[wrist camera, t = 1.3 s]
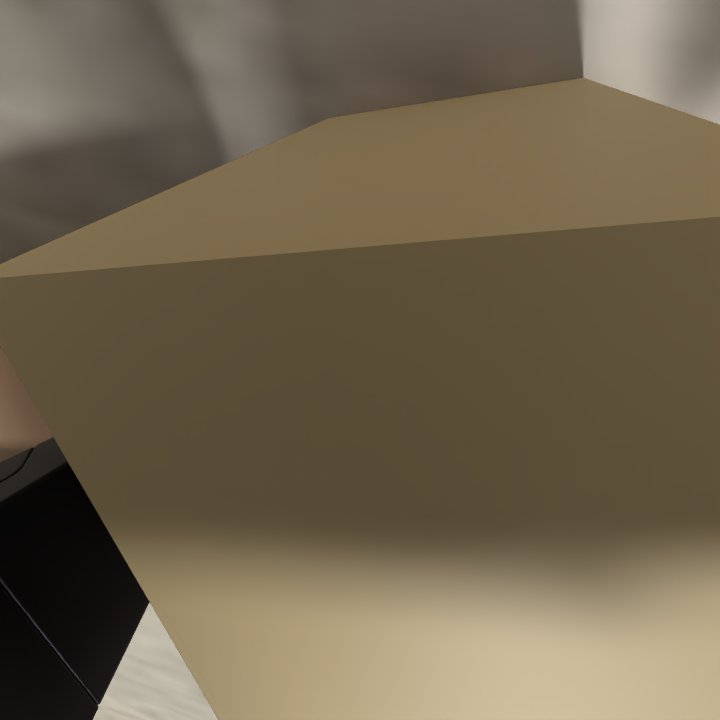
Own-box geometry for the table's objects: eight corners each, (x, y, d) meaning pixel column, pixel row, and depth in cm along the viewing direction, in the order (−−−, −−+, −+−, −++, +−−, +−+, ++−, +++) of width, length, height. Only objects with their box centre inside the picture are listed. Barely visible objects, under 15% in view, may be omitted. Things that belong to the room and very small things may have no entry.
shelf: (-68, 484, 22) (-152, 551, 19) (-223, 286, 17) (-366, 334, 14) (323, 507, 17) (289, 601, 14) (252, 242, 13) (180, 302, 10)
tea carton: (563, 434, 14) (650, 904, 6) (378, 431, 15) (266, 814, 8) (583, 77, 9) (933, 198, 2) (323, 118, 11) (-53, 282, 3)
